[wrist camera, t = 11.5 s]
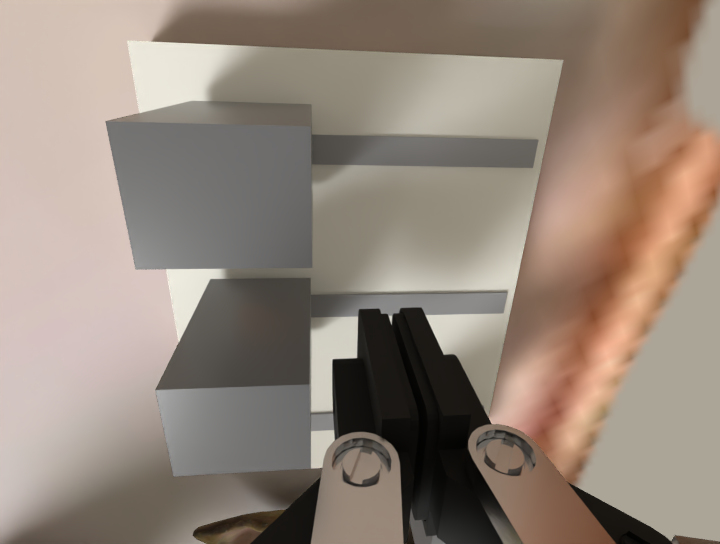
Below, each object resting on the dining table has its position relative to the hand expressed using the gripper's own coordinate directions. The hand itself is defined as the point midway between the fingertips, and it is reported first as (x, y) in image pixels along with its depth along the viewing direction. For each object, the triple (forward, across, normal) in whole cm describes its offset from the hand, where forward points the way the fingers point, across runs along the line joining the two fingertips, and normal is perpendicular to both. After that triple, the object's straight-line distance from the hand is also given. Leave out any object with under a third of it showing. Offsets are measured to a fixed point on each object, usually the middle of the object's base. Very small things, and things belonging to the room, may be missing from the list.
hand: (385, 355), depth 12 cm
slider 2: (+3, +4, 0) cm, 5 cm away
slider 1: (+3, +3, -5) cm, 7 cm away
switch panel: (+4, +1, 0) cm, 5 cm away
